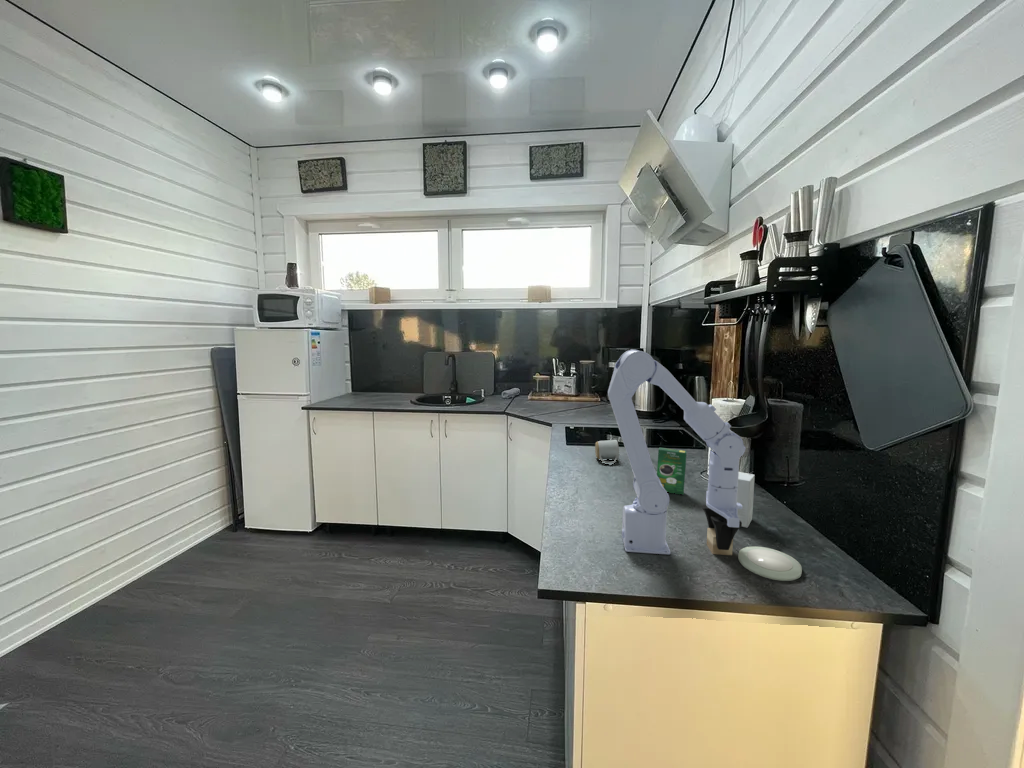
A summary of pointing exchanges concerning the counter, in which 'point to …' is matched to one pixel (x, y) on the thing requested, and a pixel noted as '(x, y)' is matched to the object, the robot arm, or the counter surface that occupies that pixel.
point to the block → (713, 545)
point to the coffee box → (672, 469)
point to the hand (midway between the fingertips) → (719, 543)
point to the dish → (770, 563)
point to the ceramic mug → (607, 450)
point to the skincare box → (745, 497)
